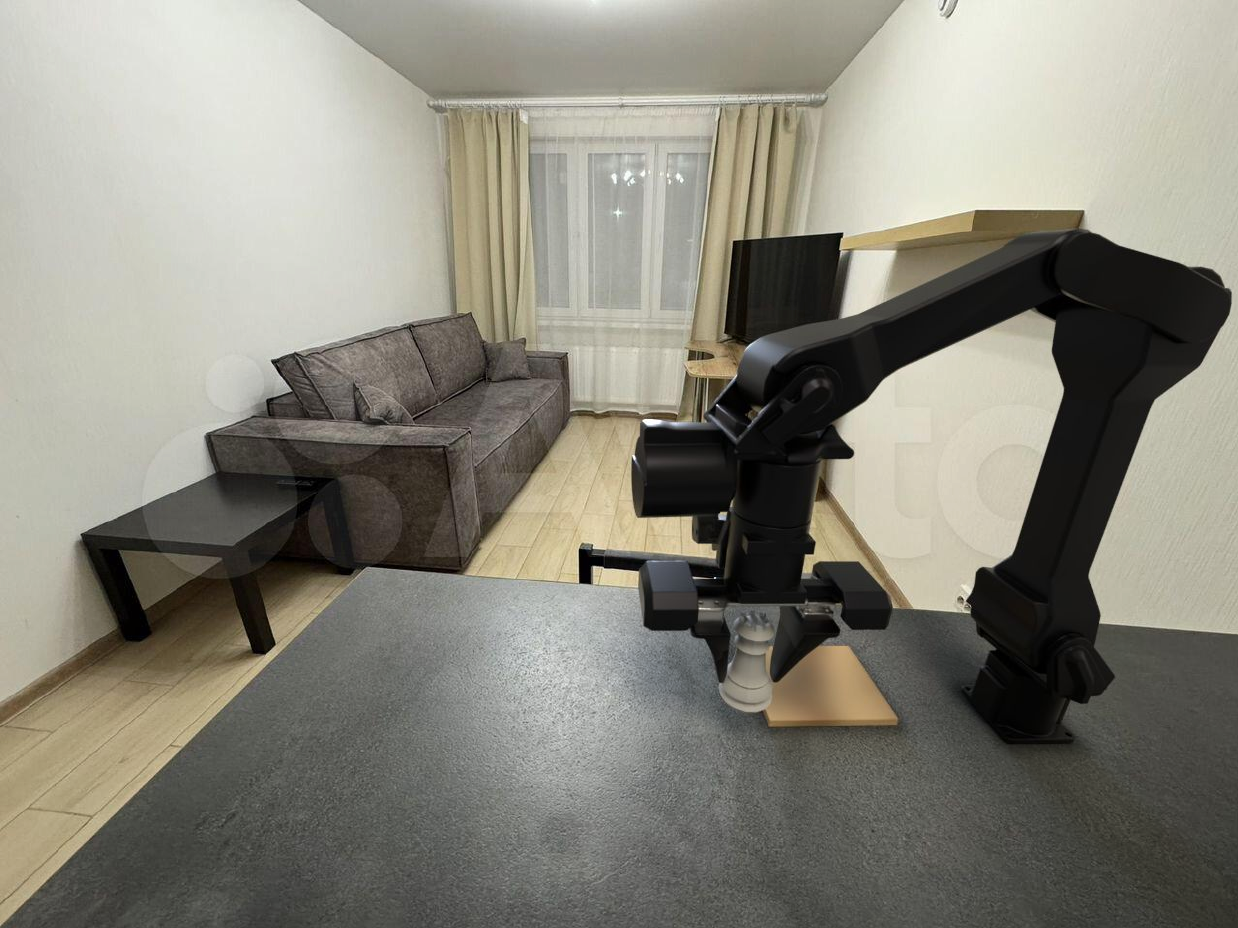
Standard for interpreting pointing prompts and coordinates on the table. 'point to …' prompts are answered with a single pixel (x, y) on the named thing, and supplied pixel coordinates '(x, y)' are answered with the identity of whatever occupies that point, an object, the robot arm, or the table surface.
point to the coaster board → (827, 692)
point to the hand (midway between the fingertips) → (747, 678)
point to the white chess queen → (749, 665)
